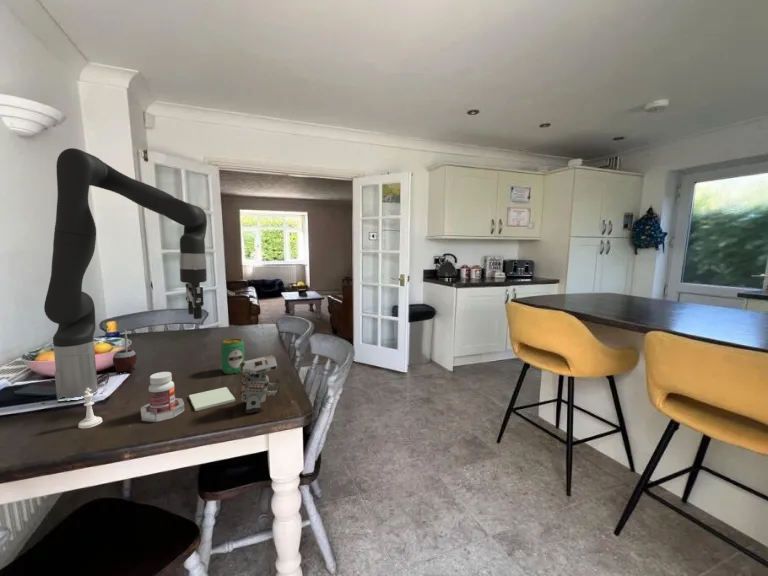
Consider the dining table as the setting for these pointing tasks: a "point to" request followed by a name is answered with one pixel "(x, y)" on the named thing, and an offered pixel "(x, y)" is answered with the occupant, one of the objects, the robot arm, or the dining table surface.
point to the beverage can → (232, 355)
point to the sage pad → (211, 398)
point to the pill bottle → (161, 392)
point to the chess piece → (89, 412)
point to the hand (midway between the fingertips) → (194, 316)
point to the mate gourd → (124, 359)
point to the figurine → (257, 381)
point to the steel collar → (164, 415)
